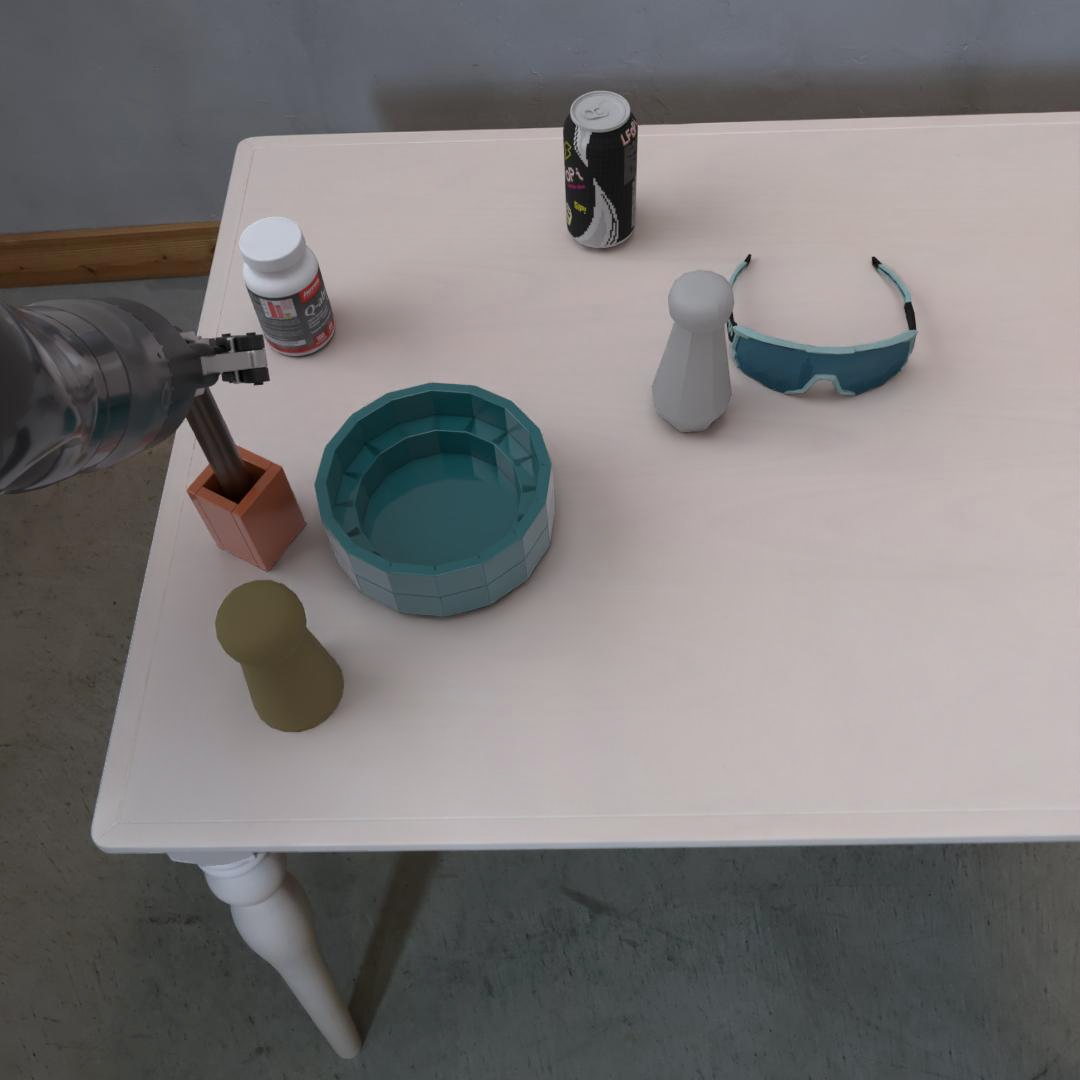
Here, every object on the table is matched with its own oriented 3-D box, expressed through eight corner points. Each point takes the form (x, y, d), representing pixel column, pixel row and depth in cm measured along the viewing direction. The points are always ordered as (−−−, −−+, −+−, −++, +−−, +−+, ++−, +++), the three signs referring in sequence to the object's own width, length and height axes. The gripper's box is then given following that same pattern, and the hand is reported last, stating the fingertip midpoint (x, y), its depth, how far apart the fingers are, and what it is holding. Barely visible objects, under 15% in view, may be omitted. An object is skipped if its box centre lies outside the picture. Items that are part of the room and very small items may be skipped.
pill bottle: (333, 357, 89) (304, 264, 80) (262, 360, 89) (225, 268, 81) (339, 304, 92) (312, 209, 83) (270, 307, 92) (236, 213, 84)
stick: (239, 535, 80) (140, 344, 63) (257, 514, 81) (163, 320, 64) (262, 547, 79) (168, 356, 62) (279, 525, 80) (191, 332, 63)
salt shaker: (645, 437, 83) (651, 314, 72) (655, 378, 86) (662, 251, 75) (725, 446, 82) (743, 323, 71) (732, 386, 85) (750, 259, 74)
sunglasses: (724, 400, 84) (730, 349, 80) (721, 277, 94) (726, 225, 90) (917, 406, 83) (932, 354, 79) (894, 280, 93) (907, 228, 89)
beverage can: (556, 219, 96) (550, 97, 86) (617, 199, 97) (618, 76, 87) (583, 263, 93) (580, 142, 83) (646, 241, 94) (651, 119, 84)
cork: (309, 748, 71) (264, 674, 62) (233, 706, 73) (179, 628, 64) (362, 671, 74) (326, 589, 65) (287, 633, 76) (242, 548, 67)
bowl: (291, 561, 79) (269, 514, 74) (412, 406, 86) (400, 353, 81) (480, 657, 74) (470, 613, 69) (593, 484, 81) (591, 434, 76)
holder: (216, 546, 80) (185, 490, 74) (256, 498, 82) (228, 440, 76) (268, 572, 79) (240, 517, 73) (306, 523, 81) (282, 466, 75)
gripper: (225, 282, 50) (297, 283, 67) (-86, 314, 50) (65, 306, 67) (251, 450, 51) (315, 409, 68) (-50, 481, 51) (88, 432, 68)
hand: (191, 359), depth 67 cm, fingers closed on stick, 2 cm apart
